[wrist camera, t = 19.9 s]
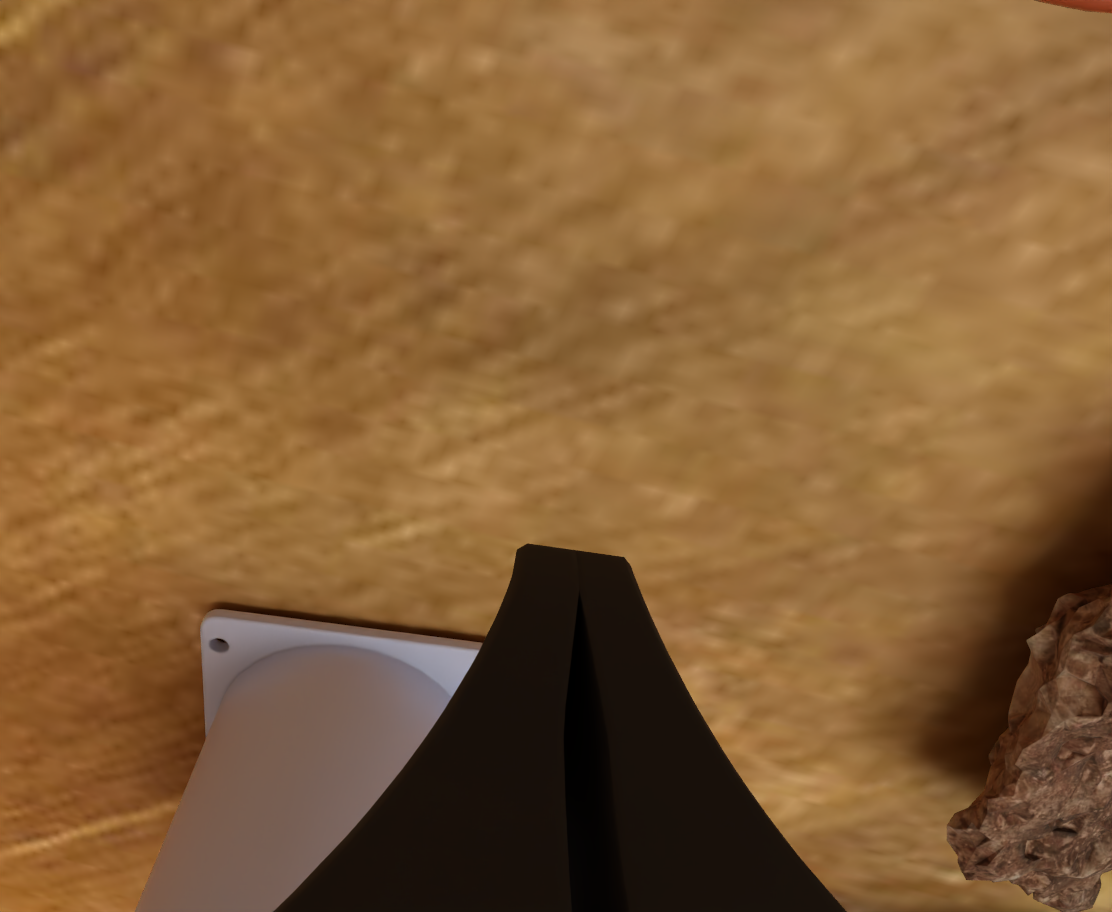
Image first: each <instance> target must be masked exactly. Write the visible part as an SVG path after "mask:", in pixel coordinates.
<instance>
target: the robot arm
mask: <svg viewBox="0 0 1112 912" xmlns="http://www.w3.org/2000/svg"><path fill="white" fill-rule="evenodd" d="M200 634H201V654H202V674H203V694H204V714H205V734H206V740H205V742H204V745H203V747H202V750H201V752H200V754H199V757H198V759H197V762H196V764H195V767H194V769H193V771H192V774H191V776H190V779H189V781H188V784H187V786H186V788H185V791H184V793H183V796H182V798H181V800H180V803H179V805H178V808H177V810H176V813H175V815H174V817H173V820H172V822H171V825H170V827H169V830H168V832H167V834H166V837H165V839H164V842H163V844H162V847H161V849H160V851H159V854H158V856H157V859H156V861H155V863H154V866H153V868H152V871H151V873H150V876H149V878H148V880H147V883H146V885H145V888H144V890H143V893H142V895H141V897H140V900H139V902H138V905H137V907H136V910H135V912H846V911H845V909H844V908H843V907H842V906H841V905H840V904H839V903H838V901H837V900H836V899H835V898H834V897H833V896H832V894H831V893H830V892H829V891H828V890H827V889H826V888H825V886H824V885H823V884H822V883H821V882H820V881H819V879H818V878H817V877H816V876H815V875H814V874H813V873H812V871H811V870H810V869H809V868H808V867H807V866H806V864H805V863H804V862H803V861H802V860H801V859H800V857H799V856H798V855H797V854H796V852H795V851H794V850H793V848H792V847H791V846H790V844H789V843H788V842H787V841H786V839H785V838H784V837H783V835H782V834H781V833H780V831H779V830H778V829H777V828H776V826H775V825H774V824H773V822H772V821H771V820H770V818H769V817H768V816H767V814H766V813H765V812H764V810H763V809H762V807H761V806H760V805H759V803H758V802H757V800H756V799H755V798H754V796H753V795H752V793H751V792H750V791H749V789H748V788H747V786H746V785H745V783H744V782H743V780H742V779H741V777H740V776H739V775H738V773H737V772H736V770H735V769H734V767H733V765H732V764H731V762H730V761H729V759H728V758H727V756H726V755H725V753H724V751H723V750H722V748H721V747H720V745H719V743H718V742H717V740H716V738H715V737H714V735H713V733H712V732H711V730H710V728H709V727H708V725H707V724H706V722H705V720H704V719H703V717H702V715H701V713H700V712H699V710H698V708H697V706H696V705H695V703H694V701H693V699H692V697H691V696H690V694H689V692H688V690H687V688H686V686H685V684H684V682H683V681H682V679H681V677H680V675H679V673H678V671H677V669H676V667H675V665H674V663H673V661H672V660H671V658H670V656H669V654H668V652H667V650H666V648H665V645H664V643H663V641H662V639H661V637H660V635H659V633H658V631H657V629H656V626H655V624H654V622H653V620H652V618H651V615H650V613H649V611H648V608H647V606H646V604H645V602H644V599H643V597H642V594H641V592H640V589H639V587H638V584H637V582H636V579H635V576H634V574H633V571H632V568H631V566H630V564H629V563H628V562H627V560H626V559H625V558H624V557H619V556H612V555H605V554H598V553H591V552H584V551H576V550H569V549H562V548H555V547H548V546H541V545H534V544H526V545H524V546H522V547H521V548H519V549H517V552H516V558H515V563H514V569H513V574H512V578H511V581H510V584H509V587H508V589H507V592H506V595H505V597H504V599H503V602H502V604H501V607H500V609H499V611H498V614H497V616H496V618H495V620H494V622H493V624H492V626H491V628H490V630H489V632H488V634H487V636H486V638H485V640H484V642H483V643H481V642H473V641H465V640H457V639H450V638H442V637H434V636H426V635H419V634H411V633H403V632H395V631H388V630H380V629H372V628H364V627H357V626H349V625H341V624H333V623H326V622H318V621H310V620H302V619H295V618H287V617H279V616H271V615H264V614H256V613H248V612H241V611H233V610H225V609H214V610H212V611H209V612H208V613H207V614H206V615H205V617H204V619H203V621H202V623H201V627H200ZM216 638H219V639H223V640H225V641H226V643H224V642H220V641H218V640H217V639H216Z"/></svg>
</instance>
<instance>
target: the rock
mask: <svg viewBox="0 0 1112 912" xmlns="http://www.w3.org/2000/svg"><path fill="white" fill-rule="evenodd" d="M1035 631H1036V633H1037V634H1036V635H1034V636H1032V637H1031V638H1029V639H1027V640H1026V641H1027V643H1028V646H1029V648H1030V651H1031V654H1030V658H1029V663H1028V665H1027V666H1026V668H1025V669H1024V671H1023V673H1022V674H1021V676H1020V677H1019V679H1018V680H1017V683H1016V687H1015V691H1014V694H1013V698H1012V701H1011V705H1010V709H1009V712H1008V723H1009V728H1008V729H1007V730H1006V731H1004V732H1003V733H1002V734H1001V735H1000V736H999V739H998V741H997V742H996V743H995V745H994V746H993V748H992V750H991V752H990V754H989V755H988V757H989V760H990V763H991V767H990V770H989V774H988V777H987V781H986V784H985V790H984V791H983V792H982V793H981V794H980V796H979V797H978V798H977V799H976V800H975V801H974V802H973V803H972V805H971V806H969V807H968V808H967V809H964V810H962V811H960V812H957V813H955V814H954V816H953V817H952V819H951V820H950V821H949V823H948V824H947V841H948V843H949V844H950V845H951V847H952V848H953V850H954V851H955V852H956V854H957V855H958V864H959V866H960V869H961V871H962V873H963V874H964V876H965V878H966V880H984V881H992V882H999V881H1007V880H1009V881H1010V882H1011V883H1013V884H1017V885H1019V886H1020V887H1021V888H1022V889H1023V890H1024V892H1025V893H1026V894H1027V895H1030V894H1031V893H1033V899H1035V900H1037V901H1039V902H1041V903H1043V904H1045V905H1048V906H1050V907H1053V908H1056V909H1058V910H1060V911H1061V912H1079V911H1083V910H1086V909H1090V908H1092V907H1093V905H1094V902H1095V900H1096V898H1097V896H1098V894H1099V891H1100V887H1101V880H1100V876H1101V874H1102V873H1105V872H1108V871H1110V870H1112V584H1110V585H1106V586H1101V587H1096V588H1092V589H1088V590H1085V591H1082V592H1078V593H1068V594H1066V595H1064V596H1062V597H1060V598H1058V600H1057V602H1056V604H1055V606H1054V609H1053V611H1052V613H1051V616H1050V618H1049V620H1048V622H1047V624H1045V625H1043V626H1041V627H1038V628H1036V629H1035Z"/></svg>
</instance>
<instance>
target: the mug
mask: <svg viewBox="0 0 1112 912" xmlns="http://www.w3.org/2000/svg"><path fill="white" fill-rule="evenodd" d="M1036 1H1039V2H1043V3H1048V4H1053V5H1057V6H1062V7H1067V8H1072V9H1077V10H1082V11H1090V12H1102V13H1112V0H1036Z"/></svg>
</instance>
